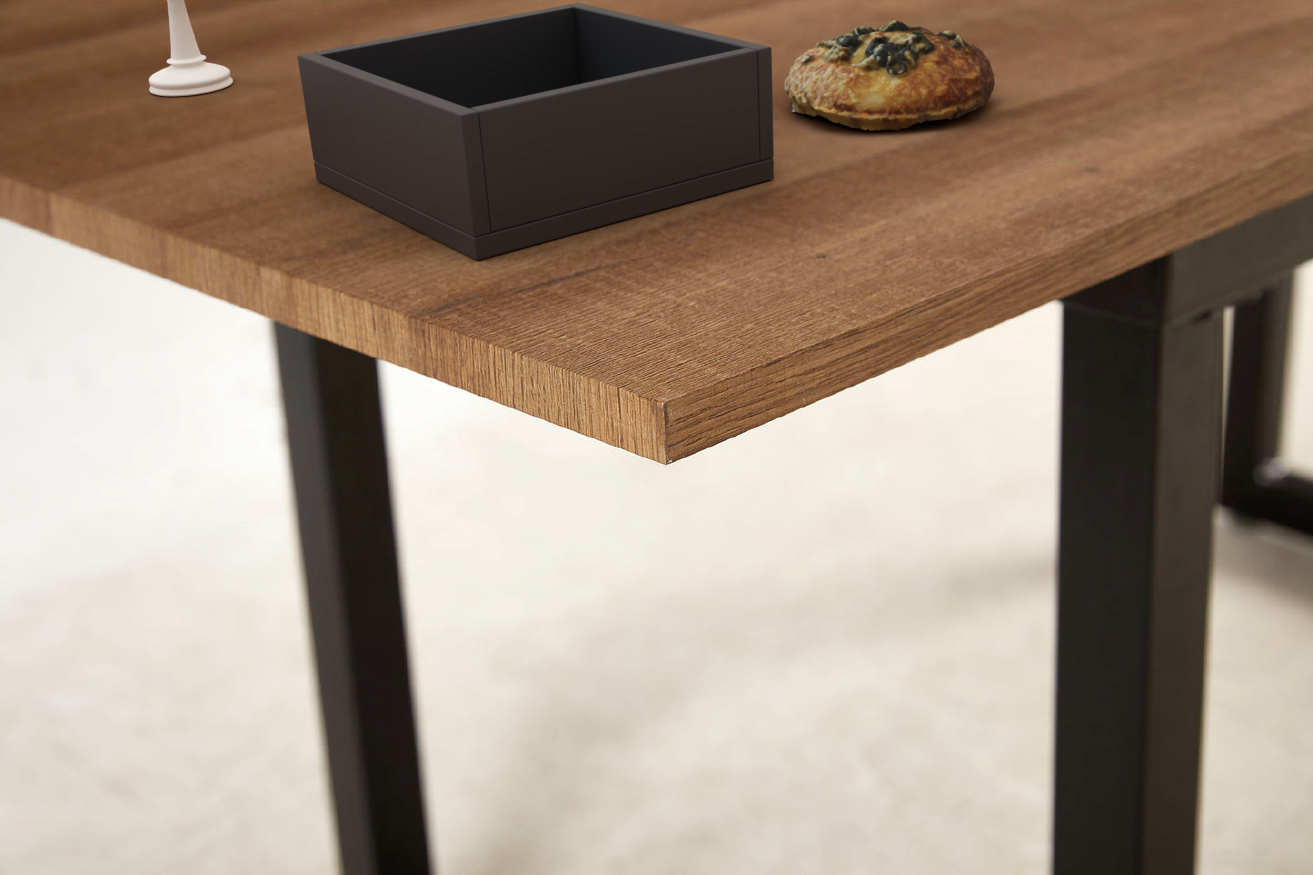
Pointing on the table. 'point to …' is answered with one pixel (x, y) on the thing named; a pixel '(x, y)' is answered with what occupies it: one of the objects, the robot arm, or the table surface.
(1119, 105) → the table surface
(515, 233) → the bin
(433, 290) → the table surface
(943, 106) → the bread roll
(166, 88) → the chess piece
